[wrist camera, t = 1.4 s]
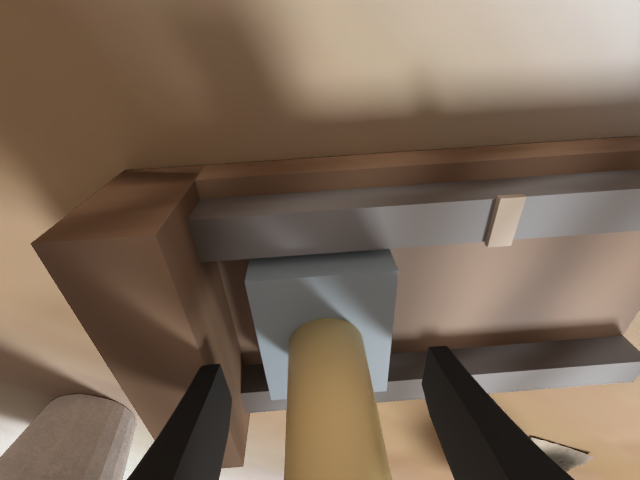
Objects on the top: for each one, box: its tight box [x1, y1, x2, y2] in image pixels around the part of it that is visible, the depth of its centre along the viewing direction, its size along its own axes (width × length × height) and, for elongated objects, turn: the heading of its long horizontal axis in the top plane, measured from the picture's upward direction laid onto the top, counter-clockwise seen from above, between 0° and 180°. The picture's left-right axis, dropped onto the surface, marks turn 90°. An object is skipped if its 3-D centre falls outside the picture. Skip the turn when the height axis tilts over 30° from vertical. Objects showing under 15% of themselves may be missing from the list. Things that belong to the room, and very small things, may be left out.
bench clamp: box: [31, 136, 640, 468], centre depth 13 cm, size 22×12×5 cm, turn 93°
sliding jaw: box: [245, 249, 399, 480], centre depth 11 cm, size 5×7×8 cm
